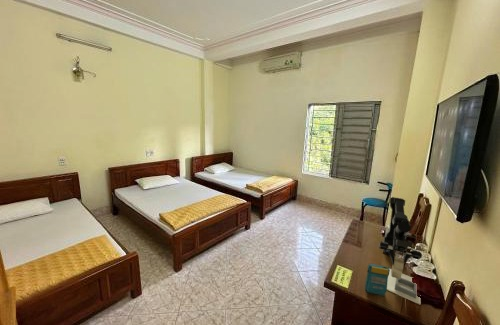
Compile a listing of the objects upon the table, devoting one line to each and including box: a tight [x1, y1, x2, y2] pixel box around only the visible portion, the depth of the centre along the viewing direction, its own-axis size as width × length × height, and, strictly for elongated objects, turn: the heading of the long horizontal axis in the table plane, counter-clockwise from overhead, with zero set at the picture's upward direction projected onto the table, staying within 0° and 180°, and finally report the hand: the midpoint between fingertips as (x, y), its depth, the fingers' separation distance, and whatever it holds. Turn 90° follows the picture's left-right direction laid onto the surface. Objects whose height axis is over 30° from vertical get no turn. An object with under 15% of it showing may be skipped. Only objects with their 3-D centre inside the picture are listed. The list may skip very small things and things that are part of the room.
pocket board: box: [386, 268, 422, 305], centre depth 116 cm, size 20×15×3 cm
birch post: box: [391, 255, 405, 280], centre depth 113 cm, size 4×4×10 cm
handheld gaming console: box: [364, 263, 391, 297], centre depth 109 cm, size 10×4×15 cm, turn 76°
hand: (398, 266), depth 111 cm, fingers closed on birch post, 4 cm apart
